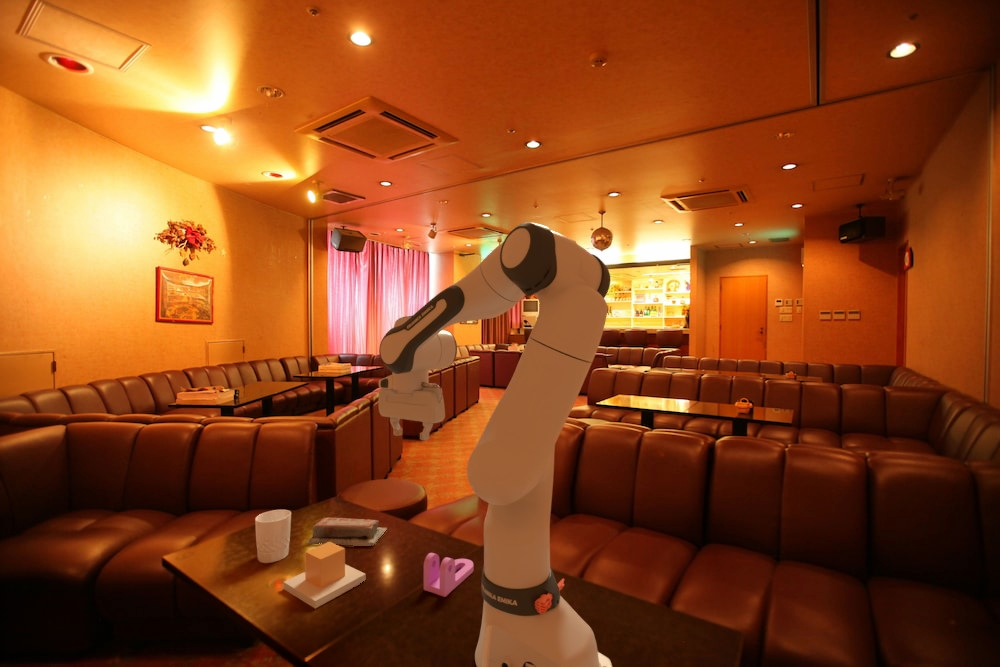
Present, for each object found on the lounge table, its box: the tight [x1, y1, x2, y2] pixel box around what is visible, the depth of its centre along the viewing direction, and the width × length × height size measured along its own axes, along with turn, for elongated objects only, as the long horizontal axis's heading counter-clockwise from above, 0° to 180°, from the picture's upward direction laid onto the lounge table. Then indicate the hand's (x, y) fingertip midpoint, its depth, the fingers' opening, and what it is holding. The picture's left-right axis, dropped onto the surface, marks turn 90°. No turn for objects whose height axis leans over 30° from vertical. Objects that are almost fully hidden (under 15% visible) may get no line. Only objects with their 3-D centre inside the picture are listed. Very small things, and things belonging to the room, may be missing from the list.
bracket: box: [423, 552, 474, 598], centre depth 96 cm, size 13×6×7 cm, turn 151°
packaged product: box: [308, 517, 388, 547], centre depth 116 cm, size 18×5×10 cm
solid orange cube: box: [304, 542, 346, 588], centre depth 94 cm, size 6×6×6 cm
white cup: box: [254, 509, 292, 564], centre depth 106 cm, size 8×8×10 cm
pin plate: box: [282, 563, 367, 610], centre depth 94 cm, size 12×12×6 cm
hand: (411, 437), depth 107 cm, fingers open, 8 cm apart
